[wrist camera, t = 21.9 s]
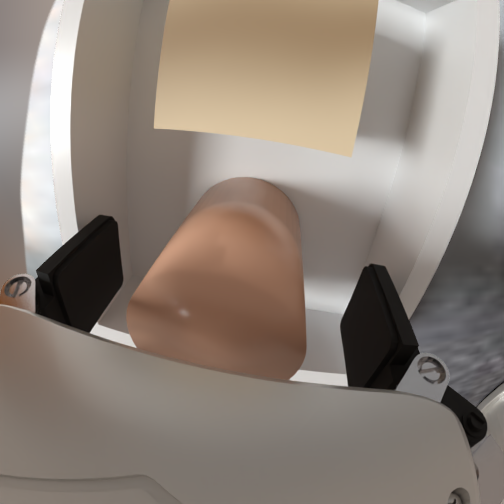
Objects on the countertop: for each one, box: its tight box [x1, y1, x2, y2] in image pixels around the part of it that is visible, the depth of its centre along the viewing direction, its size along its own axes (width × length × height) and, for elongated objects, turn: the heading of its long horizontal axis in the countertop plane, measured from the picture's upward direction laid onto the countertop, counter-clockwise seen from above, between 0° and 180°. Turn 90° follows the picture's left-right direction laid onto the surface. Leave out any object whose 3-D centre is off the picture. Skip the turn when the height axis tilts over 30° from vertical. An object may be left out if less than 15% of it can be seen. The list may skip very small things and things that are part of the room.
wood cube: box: [154, 0, 379, 157], centre depth 8 cm, size 5×5×5 cm
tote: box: [50, 0, 500, 386], centre depth 10 cm, size 18×14×5 cm
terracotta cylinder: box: [126, 177, 307, 380], centre depth 11 cm, size 5×5×7 cm
